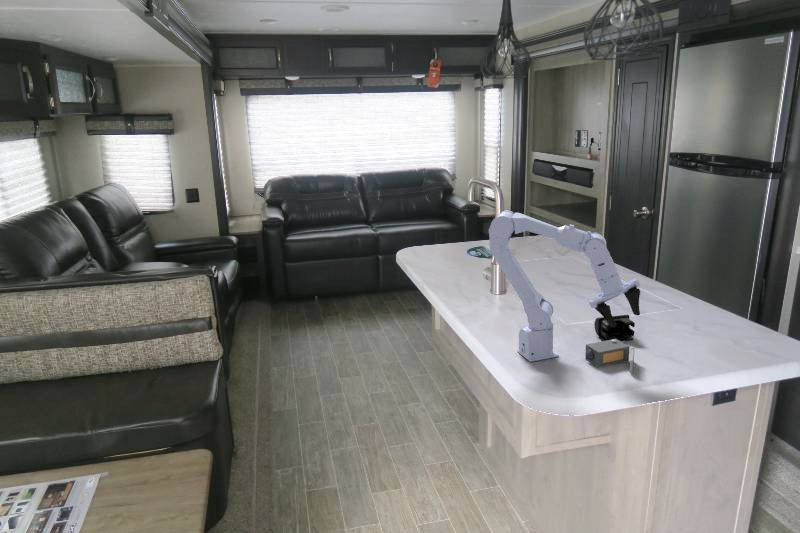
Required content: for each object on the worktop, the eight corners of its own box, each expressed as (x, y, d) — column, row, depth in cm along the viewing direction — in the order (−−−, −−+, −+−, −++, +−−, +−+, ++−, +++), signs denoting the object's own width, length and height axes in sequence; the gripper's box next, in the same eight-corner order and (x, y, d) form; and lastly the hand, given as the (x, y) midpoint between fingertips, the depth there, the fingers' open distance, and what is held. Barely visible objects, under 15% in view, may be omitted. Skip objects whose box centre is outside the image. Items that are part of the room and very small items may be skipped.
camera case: (595, 367, 157) (596, 351, 156) (583, 359, 163) (583, 343, 162) (628, 361, 160) (629, 344, 159) (615, 353, 166) (616, 337, 164)
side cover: (632, 373, 152) (633, 359, 151) (629, 373, 153) (629, 359, 152) (633, 360, 160) (634, 346, 159) (630, 360, 160) (631, 346, 159)
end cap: (623, 331, 181) (624, 311, 179) (635, 340, 174) (636, 319, 172) (593, 334, 180) (594, 314, 178) (604, 343, 173) (605, 322, 171)
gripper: (590, 288, 151) (609, 334, 152) (638, 265, 152) (656, 311, 153) (579, 286, 158) (597, 329, 159) (624, 264, 159) (641, 307, 160)
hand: (625, 320), depth 157 cm, fingers open, 7 cm apart
